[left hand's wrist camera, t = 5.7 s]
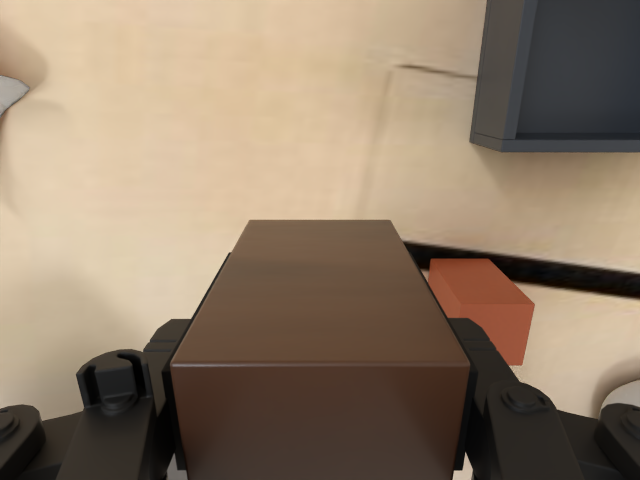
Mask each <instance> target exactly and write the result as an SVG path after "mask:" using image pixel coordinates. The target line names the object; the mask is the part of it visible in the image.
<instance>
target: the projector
mask: <svg viewBox="0 0 640 480" xmlns="http://www.w3.org/2000/svg"><path fill="white" fill-rule="evenodd" d="M613 403H624V404H631V405H635V406H638V407H640V380H637V381H634V382H630V383H627V384H625V385H623V386H621V387H618V388H617V389H615V390H614V391H612V392H611V393H610V394H609V395H608V396H607V397H606V399H605V400H604V402H603V404H602V407H601V409H602V408H604V407H605V406H606V405H607V404H613ZM600 412H601V410H600ZM599 415H600V414H599ZM598 419H599V418H598Z"/></svg>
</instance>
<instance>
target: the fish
mask: <svg viewBox="0 0 640 480" xmlns="http://www.w3.org/2000/svg"><path fill="white" fill-rule="evenodd" d="M29 88H30V87H29V86H27V85H26V84H25V83H23V82H22V81H20V80H17V79H14V78H10V77H6V76H2V75H0V118H1V116H2V115H3V113H4V112H5V111H6V109H7V108H8V107H10V106H11V105H13V104H14V103H15V102H17V101H18V100H19V99H20V98H21V97H22V96H24V95H25V94H26V93H27V92H28V91H29Z"/></svg>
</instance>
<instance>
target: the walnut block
mask: <svg viewBox="0 0 640 480" xmlns="http://www.w3.org/2000/svg"><path fill="white" fill-rule="evenodd" d="M170 370H171V376H172V383H173V389H174V395H175V402H176V408H177V415H178V421H179V428H180V434H181V441H182V447H183V453H184V460H185V466H186V473H187V479H188V480H452V479H453V473H454V466H455V460H456V453H457V447H458V441H459V434H460V428H461V421H462V415H463V408H464V402H465V396H466V389H467V383H468V376H469V370H470V362H469V360H468V358H467V357H466V355H465V353H464V351H463V350H462V348H461V346H460V344H459V342H458V341H457V339H456V337H455V335H454V333H453V332H452V330H451V328H450V326H449V324H448V323H447V321H446V319H445V317H444V315H443V314H442V312H441V310H440V308H439V306H438V305H437V303H436V301H435V299H434V298H433V296H432V294H431V292H430V290H429V289H428V287H427V285H426V283H425V281H424V280H423V278H422V276H421V274H420V272H419V271H418V269H417V267H416V265H415V263H414V262H413V260H412V258H411V256H410V254H409V253H408V251H407V249H406V247H405V245H404V244H403V242H402V240H401V238H400V237H399V235H398V233H397V231H396V229H395V228H394V226H393V224H392V222H391V221H390V220H249V222H248V224H247V225H246V227H245V229H244V231H243V233H242V234H241V236H240V238H239V240H238V242H237V243H236V245H235V247H234V249H233V251H232V252H231V254H230V256H229V258H228V260H227V261H226V263H225V265H224V267H223V269H222V270H221V272H220V274H219V276H218V278H217V279H216V281H215V283H214V285H213V287H212V288H211V290H210V292H209V294H208V296H207V297H206V299H205V301H204V303H203V305H202V306H201V308H200V310H199V312H198V314H197V315H196V317H195V319H194V321H193V323H192V324H191V326H190V328H189V330H188V332H187V333H186V335H185V337H184V339H183V341H182V342H181V344H180V346H179V348H178V350H177V351H176V353H175V355H174V357H173V359H172V360H171V363H170Z"/></svg>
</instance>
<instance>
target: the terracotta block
mask: <svg viewBox="0 0 640 480" xmlns="http://www.w3.org/2000/svg"><path fill="white" fill-rule="evenodd" d="M428 284H429V286H430V287H431V289H432V291H433V293H434V294H435V296H436V298H437V300H438V301H439V303H440V305H441V307H442V308H443V310H444V312H445V314H446V315H447V317H448V318H469V319H471V320H472V321H473V322H475V323H476V324H478V325H479V326H481V327H482V328H483V330H484V331H485V333H486V334H487V335H488V337H489V338H490V341H492V343H493V344H494V345H495V347H496V350H497V351H499V353H500V354H501V356H502V357H503V358H504V360H505V361H506V363H507V364H508V365H522V363H523V359H524V354H525V349H526V344H527V339H528V335H529V330H530V325H531V320H532V315H533V311H534V306H535V304H534V303H533V302H532V301H531V300H530V299H529V298H528V297H527V296H526V295H525V294H524V293H523V292H522V291H521V290H520V289H519V288H518V287H517V286H516V285H515V284H514V283H513V282H512V281H511V280H510V279H509V278H507V277H506V276H505V275H504V274H503V273H502V272H501V271H500V270H499V269H498V268H497V267H496V266H495V265H494V264H493V263H492V262H491V261H490V260H489V259H431V261H430V271H429V281H428Z"/></svg>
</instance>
